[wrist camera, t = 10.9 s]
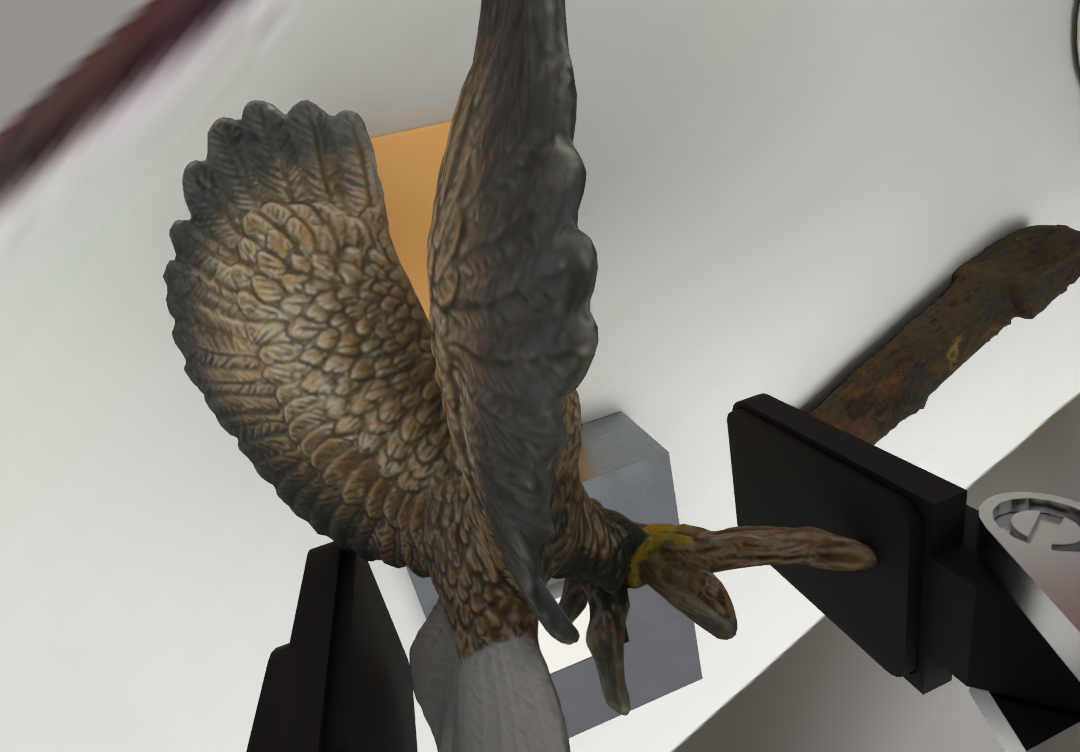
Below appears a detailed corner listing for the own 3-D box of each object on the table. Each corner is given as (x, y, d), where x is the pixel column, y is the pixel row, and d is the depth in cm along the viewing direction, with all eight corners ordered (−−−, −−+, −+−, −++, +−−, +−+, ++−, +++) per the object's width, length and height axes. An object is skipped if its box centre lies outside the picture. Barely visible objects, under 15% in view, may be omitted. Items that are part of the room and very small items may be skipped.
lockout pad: (510, 111, 22) (514, 107, 22) (573, 408, 27) (579, 414, 27) (235, 168, 20) (229, 167, 20) (358, 479, 25) (357, 487, 25)
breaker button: (577, 529, 28) (607, 578, 24) (591, 588, 29) (621, 643, 26) (504, 556, 27) (524, 611, 24) (522, 616, 29) (543, 676, 25)
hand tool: (802, 459, 33) (865, 497, 29) (775, 415, 31) (838, 448, 27) (1031, 262, 33) (1126, 271, 29) (1016, 209, 32) (1115, 210, 28)
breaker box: (621, 411, 28) (668, 451, 24) (657, 612, 33) (702, 678, 29) (395, 486, 26) (398, 547, 21) (470, 690, 31) (486, 774, 26)
